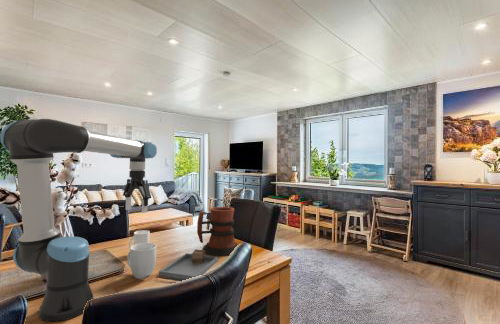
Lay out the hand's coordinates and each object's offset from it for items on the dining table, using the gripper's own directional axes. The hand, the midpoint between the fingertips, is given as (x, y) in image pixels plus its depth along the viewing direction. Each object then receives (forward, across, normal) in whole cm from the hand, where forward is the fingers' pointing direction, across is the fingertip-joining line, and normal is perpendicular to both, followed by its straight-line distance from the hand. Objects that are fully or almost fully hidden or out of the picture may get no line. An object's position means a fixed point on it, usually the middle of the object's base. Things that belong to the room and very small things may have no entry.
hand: (136, 211), depth 135 cm
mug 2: (+26, -19, +10) cm, 33 cm away
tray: (+25, -33, -7) cm, 42 cm away
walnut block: (+24, -31, -14) cm, 42 cm away
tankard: (+25, -28, -34) cm, 51 cm away
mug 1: (+25, +5, -6) cm, 26 cm away
